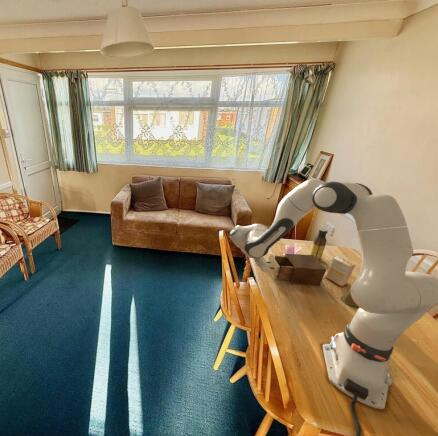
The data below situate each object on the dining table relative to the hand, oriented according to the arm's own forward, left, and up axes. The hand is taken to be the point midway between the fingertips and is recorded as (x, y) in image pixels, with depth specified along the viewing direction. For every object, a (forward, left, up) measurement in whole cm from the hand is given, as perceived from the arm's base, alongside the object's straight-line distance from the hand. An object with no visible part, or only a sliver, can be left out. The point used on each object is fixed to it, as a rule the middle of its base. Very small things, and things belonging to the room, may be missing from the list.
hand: (267, 265), depth 125 cm
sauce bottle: (+35, -21, -6) cm, 41 cm away
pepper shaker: (+3, -38, -6) cm, 38 cm away
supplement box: (+17, -32, -6) cm, 36 cm away
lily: (+26, -9, -6) cm, 28 cm away
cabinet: (+9, -16, -6) cm, 19 cm away
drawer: (+3, -6, -5) cm, 9 cm away
